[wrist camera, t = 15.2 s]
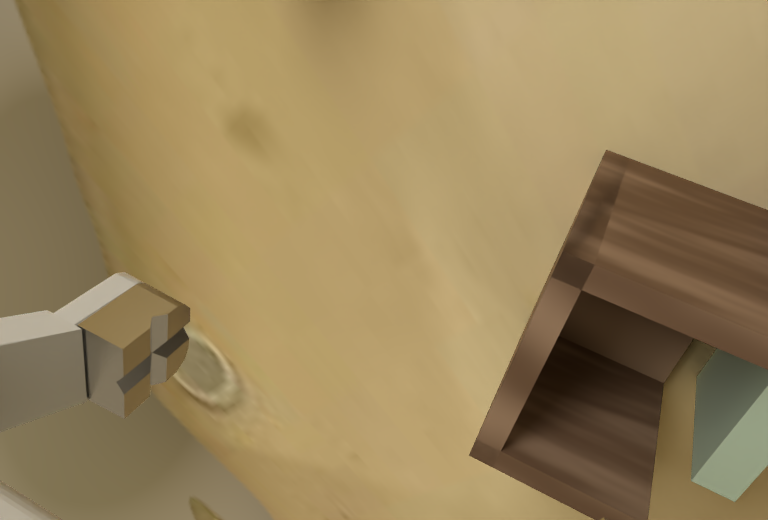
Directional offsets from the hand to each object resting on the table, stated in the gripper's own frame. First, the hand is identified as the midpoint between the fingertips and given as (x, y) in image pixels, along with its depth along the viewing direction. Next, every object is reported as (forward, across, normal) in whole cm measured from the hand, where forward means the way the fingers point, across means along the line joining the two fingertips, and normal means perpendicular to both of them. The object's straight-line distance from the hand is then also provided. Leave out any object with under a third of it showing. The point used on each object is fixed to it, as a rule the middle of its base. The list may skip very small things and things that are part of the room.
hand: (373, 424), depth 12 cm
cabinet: (+33, -10, +12) cm, 37 cm away
